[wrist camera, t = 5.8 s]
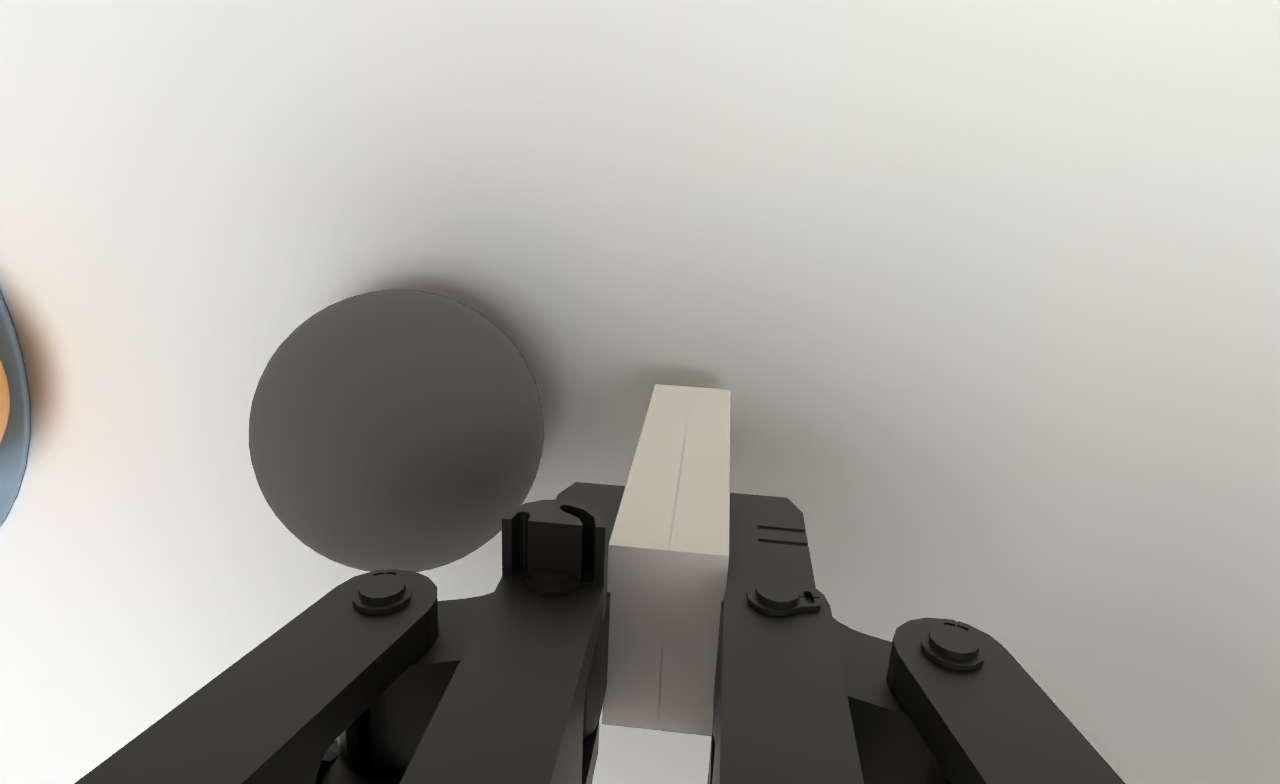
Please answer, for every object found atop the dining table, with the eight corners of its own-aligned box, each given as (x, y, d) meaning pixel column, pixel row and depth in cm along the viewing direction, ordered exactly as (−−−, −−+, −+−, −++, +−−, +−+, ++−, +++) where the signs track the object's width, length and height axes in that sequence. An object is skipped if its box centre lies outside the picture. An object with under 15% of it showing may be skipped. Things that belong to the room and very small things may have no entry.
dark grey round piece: (133, 497, 13) (224, 379, 18) (393, 686, 15) (410, 534, 20) (391, 263, 12) (410, 209, 18) (622, 492, 15) (580, 386, 20)
